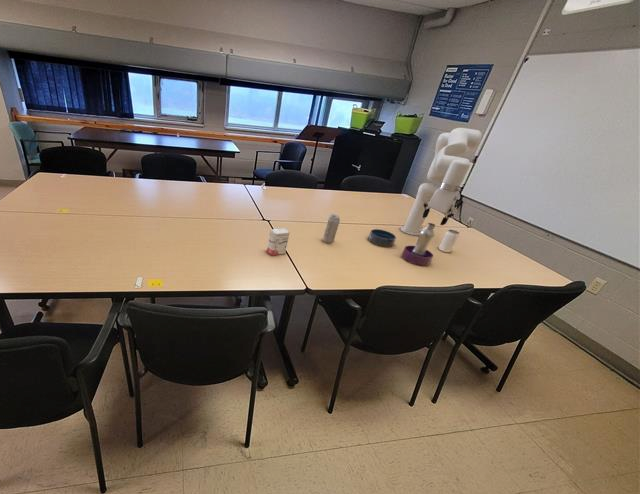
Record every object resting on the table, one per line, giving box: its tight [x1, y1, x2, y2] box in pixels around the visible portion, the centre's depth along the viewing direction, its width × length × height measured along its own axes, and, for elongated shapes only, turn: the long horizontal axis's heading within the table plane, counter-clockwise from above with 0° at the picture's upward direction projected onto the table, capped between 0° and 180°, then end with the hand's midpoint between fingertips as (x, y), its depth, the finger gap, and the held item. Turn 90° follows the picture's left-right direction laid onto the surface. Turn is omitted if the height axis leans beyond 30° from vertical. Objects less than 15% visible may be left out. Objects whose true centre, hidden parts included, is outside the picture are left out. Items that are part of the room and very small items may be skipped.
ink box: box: [266, 227, 290, 256], centre depth 156 cm, size 9×5×12 cm, turn 117°
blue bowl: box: [367, 228, 397, 248], centre depth 186 cm, size 14×14×5 cm
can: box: [438, 229, 460, 253], centre depth 185 cm, size 6×6×12 cm
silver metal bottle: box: [411, 222, 436, 257], centre depth 166 cm, size 6×7×20 cm
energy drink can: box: [322, 214, 341, 244], centre depth 174 cm, size 6×6×15 cm
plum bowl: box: [401, 245, 434, 266], centre depth 170 cm, size 14×14×5 cm
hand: (433, 221), depth 160 cm, fingers open, 9 cm apart
